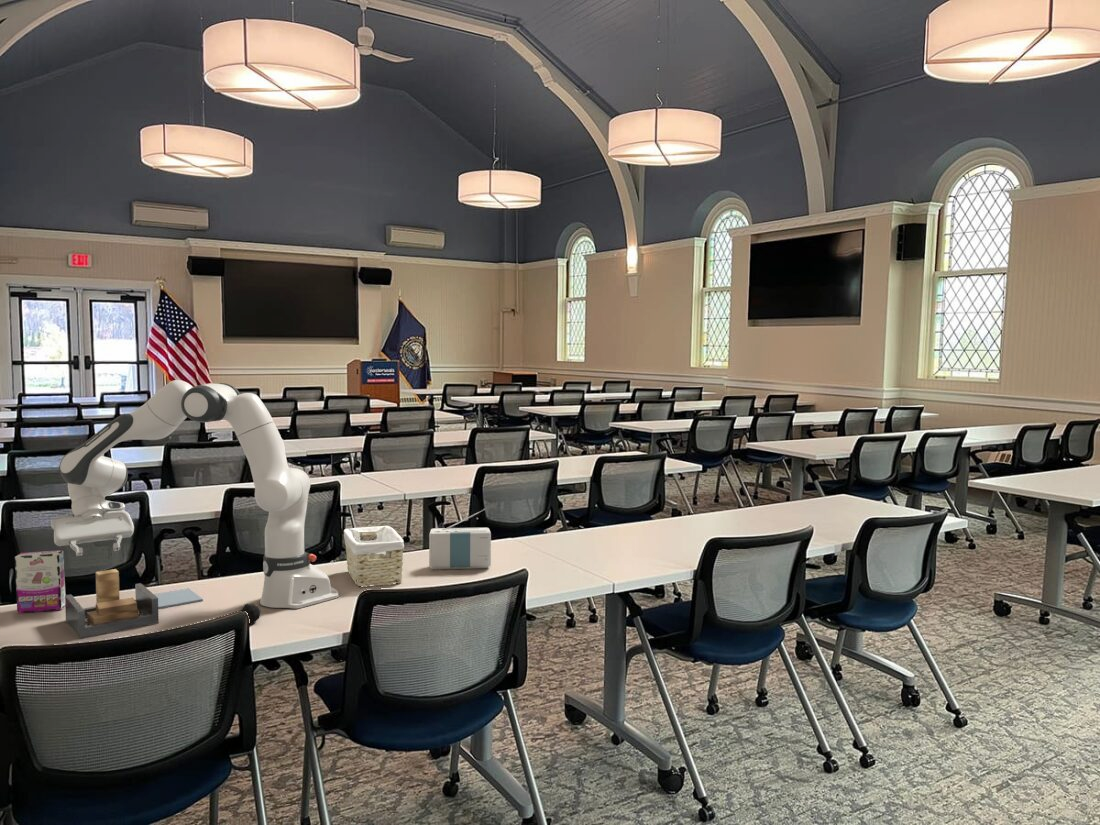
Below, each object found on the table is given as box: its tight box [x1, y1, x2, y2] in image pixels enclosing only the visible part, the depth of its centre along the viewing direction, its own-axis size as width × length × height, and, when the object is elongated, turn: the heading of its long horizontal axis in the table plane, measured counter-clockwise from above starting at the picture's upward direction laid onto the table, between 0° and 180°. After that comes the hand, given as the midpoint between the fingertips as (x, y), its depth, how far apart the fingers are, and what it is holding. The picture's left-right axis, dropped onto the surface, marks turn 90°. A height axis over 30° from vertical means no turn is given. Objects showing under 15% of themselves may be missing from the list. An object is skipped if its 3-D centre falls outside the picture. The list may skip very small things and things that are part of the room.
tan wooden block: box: [95, 568, 121, 603], centre depth 223 cm, size 5×4×13 cm
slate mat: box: [153, 587, 204, 610], centre depth 240 cm, size 14×14×1 cm
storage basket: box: [343, 525, 405, 588], centre depth 266 cm, size 24×16×15 cm
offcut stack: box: [86, 597, 142, 626], centre depth 218 cm, size 12×7×6 cm, turn 131°
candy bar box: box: [14, 549, 66, 614], centre depth 230 cm, size 11×5×16 cm, turn 106°
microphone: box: [240, 603, 261, 625], centre depth 216 cm, size 6×6×20 cm
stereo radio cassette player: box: [428, 508, 492, 570], centre depth 279 cm, size 21×8×20 cm, turn 97°
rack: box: [64, 582, 160, 640], centre depth 220 cm, size 19×18×7 cm
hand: (98, 552), depth 231 cm, fingers open, 8 cm apart
